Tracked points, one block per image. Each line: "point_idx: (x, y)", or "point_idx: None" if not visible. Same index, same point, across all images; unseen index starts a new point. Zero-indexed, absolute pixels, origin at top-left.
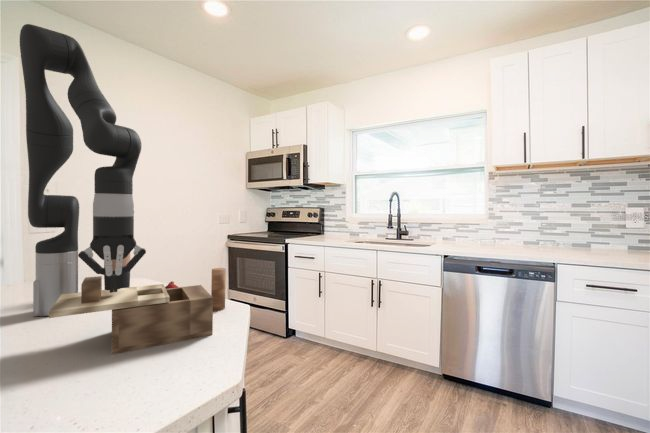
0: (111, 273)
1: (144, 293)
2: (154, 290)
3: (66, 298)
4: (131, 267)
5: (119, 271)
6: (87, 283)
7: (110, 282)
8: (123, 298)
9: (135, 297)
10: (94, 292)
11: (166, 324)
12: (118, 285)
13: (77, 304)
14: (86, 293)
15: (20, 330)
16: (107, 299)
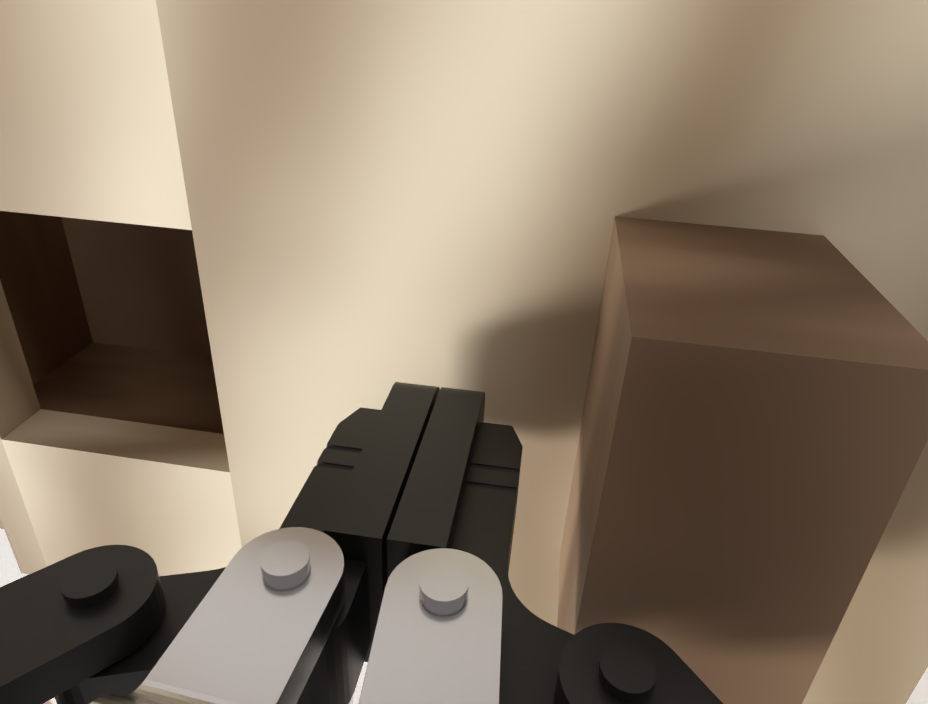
0: (403, 586)
1: (182, 438)
2: (79, 436)
3: (901, 558)
4: (2, 606)
5: (256, 587)
6: (845, 370)
7: (452, 472)
8: (343, 197)
9: (207, 162)
10: (691, 270)
11: None
12: (364, 443)
13: (876, 210)
14: (803, 282)
15: (923, 693)
16: (520, 263)
